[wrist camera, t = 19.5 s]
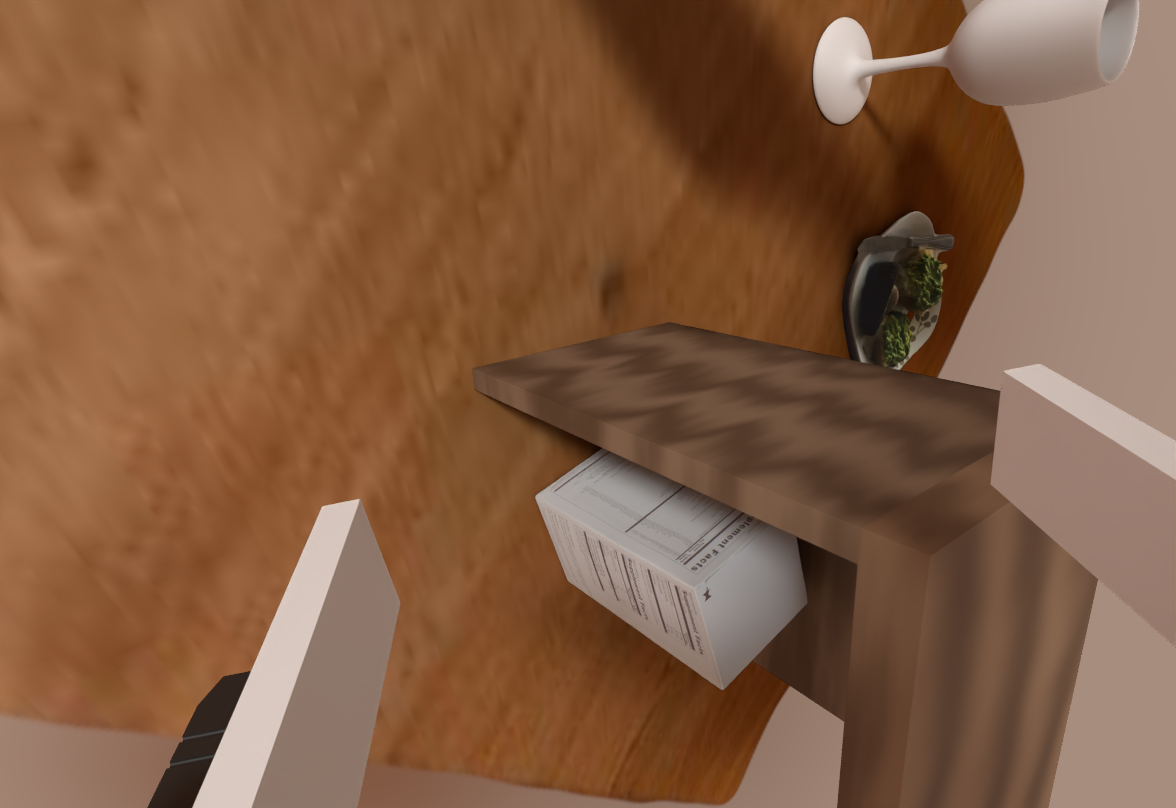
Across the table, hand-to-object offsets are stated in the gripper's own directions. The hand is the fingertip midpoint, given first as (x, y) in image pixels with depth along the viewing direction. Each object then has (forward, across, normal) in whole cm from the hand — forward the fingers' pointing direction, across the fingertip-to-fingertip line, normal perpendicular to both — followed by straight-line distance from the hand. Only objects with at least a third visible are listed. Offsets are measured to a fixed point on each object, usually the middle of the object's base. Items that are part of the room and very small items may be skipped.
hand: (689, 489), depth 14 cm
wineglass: (+55, +27, +3) cm, 61 cm away
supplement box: (+35, -2, -24) cm, 43 cm away
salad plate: (+58, +32, -21) cm, 70 cm away
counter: (+35, -3, -24) cm, 42 cm away
